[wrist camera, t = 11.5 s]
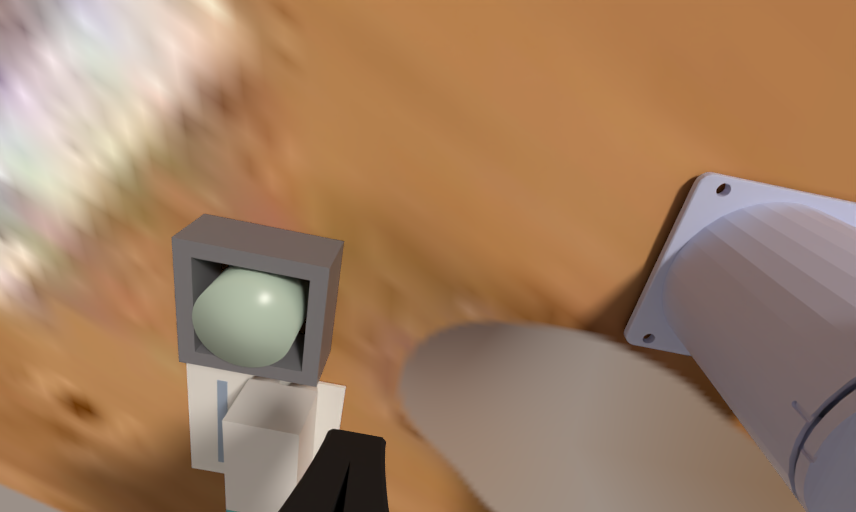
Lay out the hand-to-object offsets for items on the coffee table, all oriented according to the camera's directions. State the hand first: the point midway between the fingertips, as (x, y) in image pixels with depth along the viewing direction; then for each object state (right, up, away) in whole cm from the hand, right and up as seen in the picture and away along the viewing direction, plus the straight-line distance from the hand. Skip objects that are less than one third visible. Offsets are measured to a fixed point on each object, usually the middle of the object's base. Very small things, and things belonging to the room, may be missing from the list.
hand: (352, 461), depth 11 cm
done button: (-5, +4, +10) cm, 12 cm away
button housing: (-5, +4, +10) cm, 12 cm away
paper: (-7, -4, +13) cm, 16 cm away
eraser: (-6, -4, +13) cm, 15 cm away
